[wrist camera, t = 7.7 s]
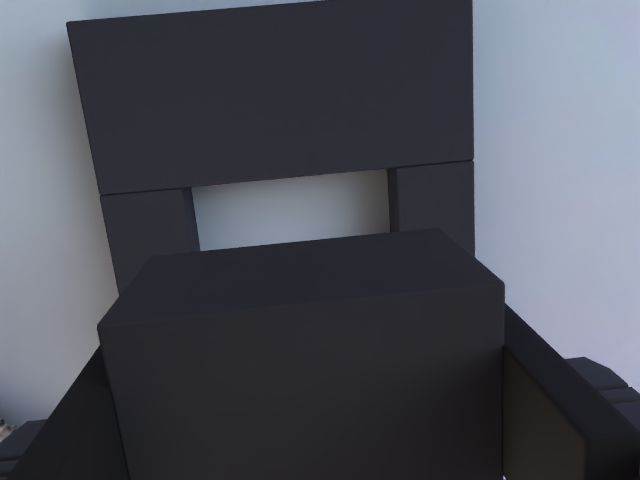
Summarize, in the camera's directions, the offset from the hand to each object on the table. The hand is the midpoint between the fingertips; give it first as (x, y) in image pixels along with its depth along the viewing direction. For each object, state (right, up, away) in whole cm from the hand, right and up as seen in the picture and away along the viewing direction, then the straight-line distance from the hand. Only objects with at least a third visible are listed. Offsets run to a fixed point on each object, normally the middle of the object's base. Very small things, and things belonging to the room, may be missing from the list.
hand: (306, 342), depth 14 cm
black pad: (0, 0, 0) cm, 0 cm away
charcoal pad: (-1, +2, +10) cm, 10 cm away
